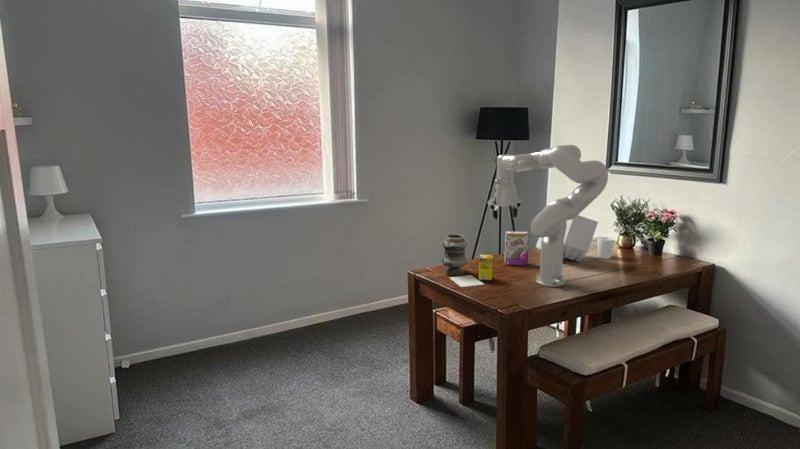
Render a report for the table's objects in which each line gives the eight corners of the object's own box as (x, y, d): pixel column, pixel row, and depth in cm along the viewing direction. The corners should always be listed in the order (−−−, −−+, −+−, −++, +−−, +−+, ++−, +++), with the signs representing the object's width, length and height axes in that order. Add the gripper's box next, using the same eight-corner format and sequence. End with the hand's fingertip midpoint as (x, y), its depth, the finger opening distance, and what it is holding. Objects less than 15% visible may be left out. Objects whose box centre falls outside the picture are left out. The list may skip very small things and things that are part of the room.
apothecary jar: (447, 277, 250) (447, 239, 246) (438, 269, 261) (438, 233, 258) (471, 274, 253) (471, 237, 249) (461, 267, 264) (461, 232, 261)
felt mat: (484, 284, 238) (484, 284, 238) (461, 287, 235) (461, 286, 235) (471, 275, 251) (471, 275, 251) (449, 278, 248) (449, 277, 248)
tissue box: (532, 252, 280) (547, 206, 278) (555, 259, 286) (570, 214, 284) (557, 262, 261) (574, 213, 259) (581, 269, 268) (598, 221, 266)
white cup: (593, 256, 281) (594, 237, 279) (604, 254, 284) (605, 236, 282) (604, 260, 274) (605, 241, 272) (616, 258, 277) (617, 239, 275)
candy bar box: (505, 265, 267) (506, 233, 263) (504, 262, 272) (505, 231, 268) (528, 265, 266) (529, 233, 262) (526, 263, 271) (527, 231, 267)
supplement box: (491, 281, 242) (492, 258, 240) (478, 281, 243) (478, 257, 241) (492, 277, 248) (492, 254, 246) (479, 277, 249) (479, 254, 247)
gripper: (491, 183, 244) (491, 220, 248) (525, 181, 248) (525, 217, 252) (484, 181, 251) (484, 217, 255) (518, 179, 256) (518, 215, 259)
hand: (504, 217), depth 253 cm, fingers open, 9 cm apart
